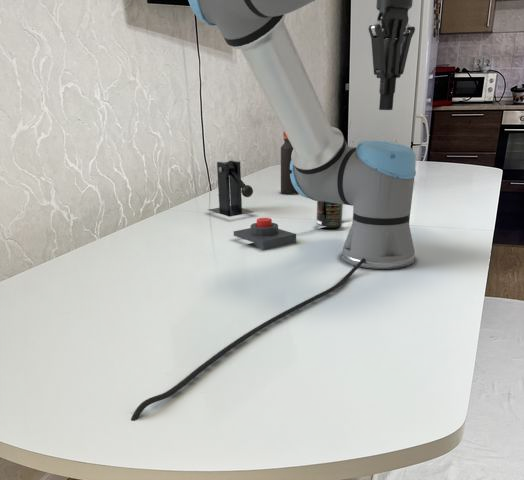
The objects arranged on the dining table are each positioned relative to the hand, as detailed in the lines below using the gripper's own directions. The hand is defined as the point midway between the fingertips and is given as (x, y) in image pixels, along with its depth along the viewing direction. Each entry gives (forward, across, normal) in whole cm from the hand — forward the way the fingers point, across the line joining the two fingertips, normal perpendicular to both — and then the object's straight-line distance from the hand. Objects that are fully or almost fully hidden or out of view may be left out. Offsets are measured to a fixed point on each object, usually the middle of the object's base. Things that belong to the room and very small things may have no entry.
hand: (385, 109), depth 122 cm
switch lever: (+19, +17, -37) cm, 45 cm away
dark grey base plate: (+28, +28, -11) cm, 41 cm away
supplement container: (+29, +7, -10) cm, 31 cm away
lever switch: (+28, +17, -41) cm, 53 cm away
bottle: (+29, -18, -55) cm, 65 cm away
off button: (+25, +28, -11) cm, 39 cm away
